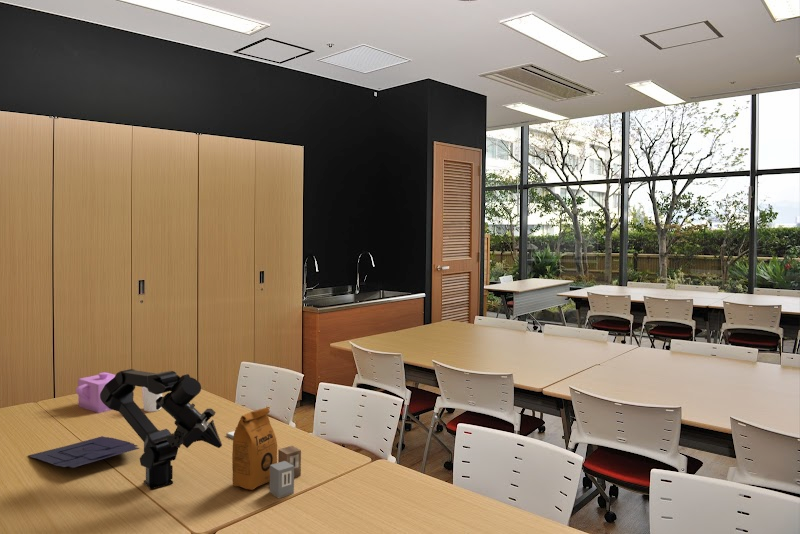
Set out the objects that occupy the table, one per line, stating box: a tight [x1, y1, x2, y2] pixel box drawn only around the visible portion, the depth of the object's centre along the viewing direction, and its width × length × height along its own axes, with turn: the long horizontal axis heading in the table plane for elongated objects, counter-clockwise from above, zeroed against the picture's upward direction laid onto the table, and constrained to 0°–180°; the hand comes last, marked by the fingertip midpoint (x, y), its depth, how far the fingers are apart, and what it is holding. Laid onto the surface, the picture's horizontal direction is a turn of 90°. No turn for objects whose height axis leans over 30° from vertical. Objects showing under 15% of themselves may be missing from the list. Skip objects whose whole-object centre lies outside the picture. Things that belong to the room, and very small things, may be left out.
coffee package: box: [231, 406, 278, 491], centre depth 174 cm, size 10×12×22 cm
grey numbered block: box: [269, 461, 295, 499], centre depth 168 cm, size 5×5×8 cm
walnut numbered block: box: [277, 445, 302, 479], centre depth 180 cm, size 5×5×8 cm
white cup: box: [141, 387, 163, 413], centre depth 241 cm, size 8×8×10 cm
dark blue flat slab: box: [27, 435, 140, 469], centre depth 190 cm, size 24×30×4 cm
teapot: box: [75, 371, 116, 414], centre depth 245 cm, size 15×25×14 cm, turn 147°
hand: (220, 446), depth 170 cm, fingers closed
